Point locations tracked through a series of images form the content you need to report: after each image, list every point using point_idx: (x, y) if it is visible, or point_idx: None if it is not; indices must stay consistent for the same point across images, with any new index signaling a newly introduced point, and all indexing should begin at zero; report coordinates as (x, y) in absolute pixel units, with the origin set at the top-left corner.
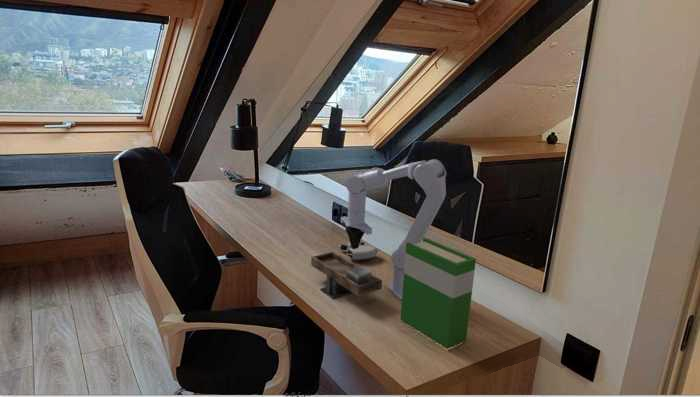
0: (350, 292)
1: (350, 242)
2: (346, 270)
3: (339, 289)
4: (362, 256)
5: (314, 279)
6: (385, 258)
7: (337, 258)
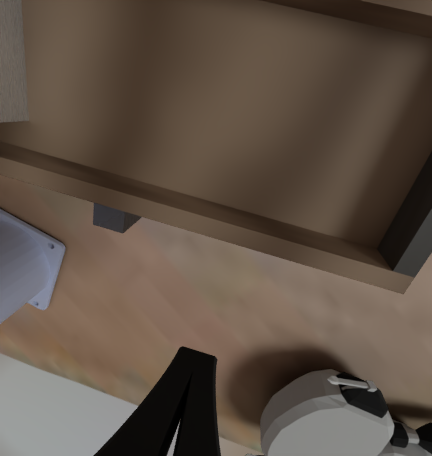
0: None
1: (204, 407)
2: (145, 135)
3: None
4: (288, 393)
5: None
6: (240, 428)
7: (313, 237)
